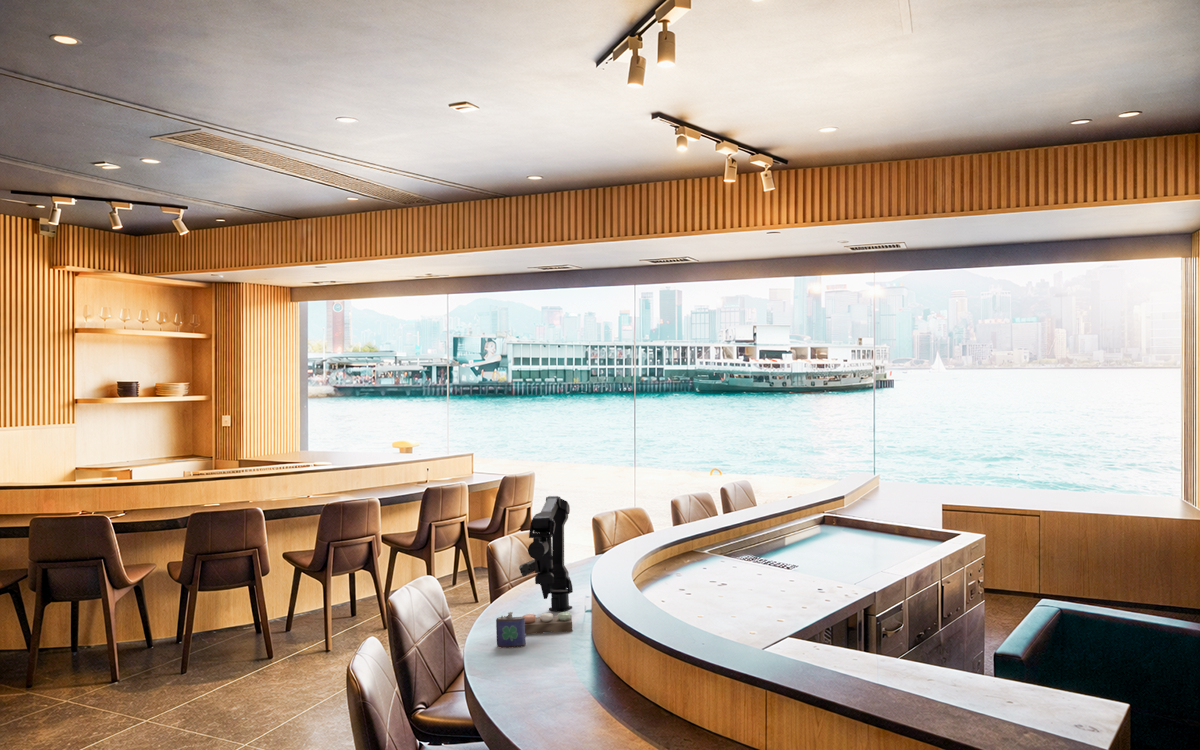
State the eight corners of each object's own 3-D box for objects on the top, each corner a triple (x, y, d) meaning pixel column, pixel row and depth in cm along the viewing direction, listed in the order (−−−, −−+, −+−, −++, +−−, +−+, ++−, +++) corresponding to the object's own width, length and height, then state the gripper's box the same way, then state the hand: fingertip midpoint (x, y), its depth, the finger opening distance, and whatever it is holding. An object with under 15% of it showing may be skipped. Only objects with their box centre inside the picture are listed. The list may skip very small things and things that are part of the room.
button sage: (558, 620, 242) (557, 616, 243) (557, 617, 247) (557, 612, 247) (571, 620, 243) (570, 615, 243) (570, 616, 247) (570, 611, 247)
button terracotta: (522, 623, 241) (522, 618, 242) (522, 619, 246) (522, 614, 246) (535, 622, 242) (535, 617, 242) (535, 618, 246) (535, 613, 246)
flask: (526, 644, 229) (524, 610, 230) (524, 647, 226) (523, 613, 227) (497, 645, 230) (496, 611, 230) (495, 648, 227) (494, 614, 227)
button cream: (540, 622, 242) (540, 617, 242) (540, 618, 246) (540, 613, 246) (553, 621, 242) (553, 616, 242) (553, 617, 247) (552, 612, 247)
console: (521, 634, 240) (521, 625, 240) (522, 627, 248) (522, 618, 248) (572, 631, 241) (572, 622, 241) (571, 623, 249) (571, 615, 249)
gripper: (520, 548, 255) (522, 592, 254) (519, 559, 236) (521, 607, 236) (552, 546, 256) (554, 591, 255) (553, 557, 237) (554, 605, 237)
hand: (545, 598), depth 246 cm, fingers closed
